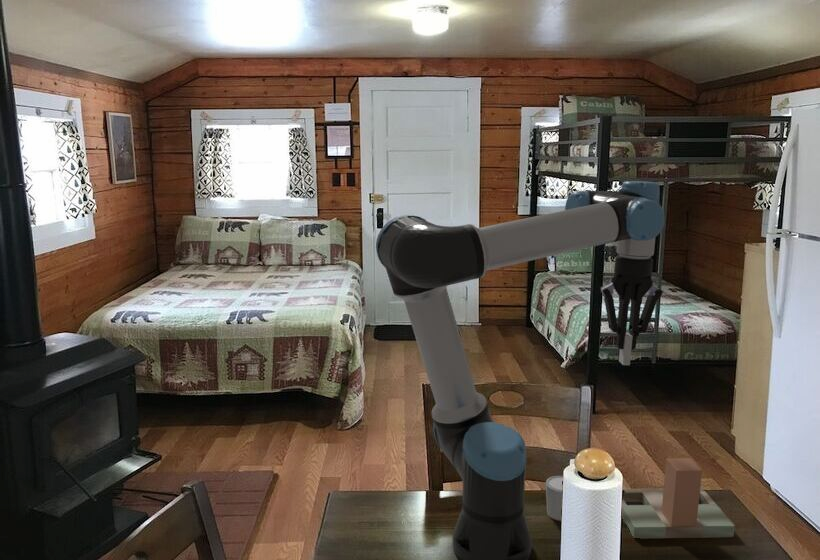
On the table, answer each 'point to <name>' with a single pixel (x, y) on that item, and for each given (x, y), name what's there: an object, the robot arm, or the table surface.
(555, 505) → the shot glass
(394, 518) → the table surface
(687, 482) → the block
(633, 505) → the board
